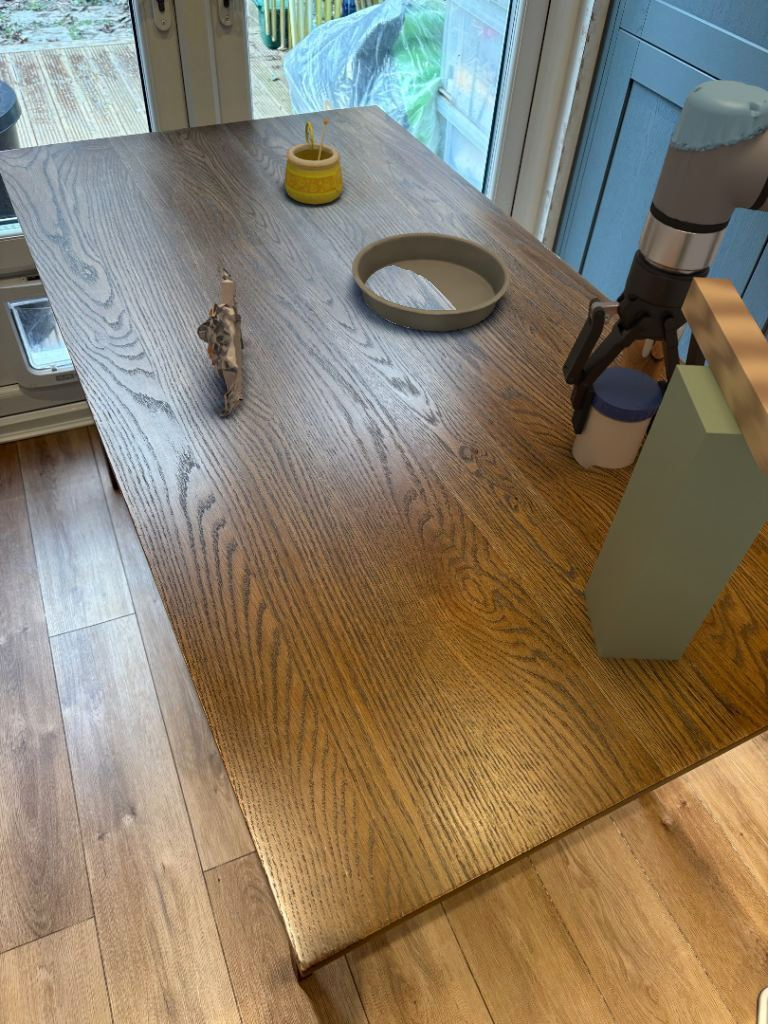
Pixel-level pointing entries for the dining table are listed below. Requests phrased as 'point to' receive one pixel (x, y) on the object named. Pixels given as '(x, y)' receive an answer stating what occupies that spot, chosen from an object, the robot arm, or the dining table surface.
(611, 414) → the jar lid
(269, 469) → the dining table surface
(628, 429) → the jam jar
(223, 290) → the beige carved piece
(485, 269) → the cake pan
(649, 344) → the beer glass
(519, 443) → the dining table surface
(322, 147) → the yellow pot
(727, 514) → the stand
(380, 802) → the dining table surface
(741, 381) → the beech stick
